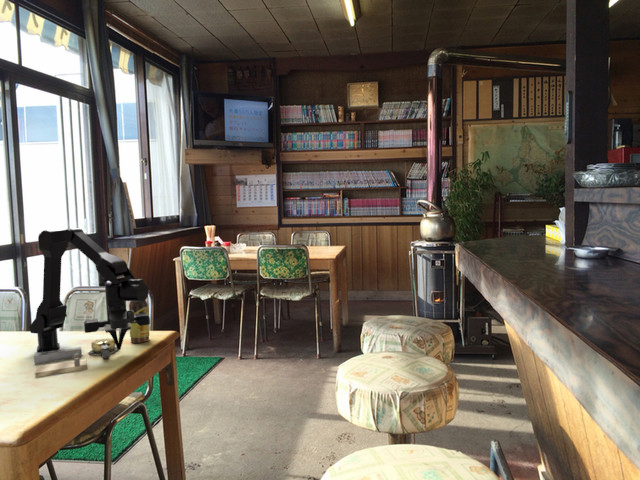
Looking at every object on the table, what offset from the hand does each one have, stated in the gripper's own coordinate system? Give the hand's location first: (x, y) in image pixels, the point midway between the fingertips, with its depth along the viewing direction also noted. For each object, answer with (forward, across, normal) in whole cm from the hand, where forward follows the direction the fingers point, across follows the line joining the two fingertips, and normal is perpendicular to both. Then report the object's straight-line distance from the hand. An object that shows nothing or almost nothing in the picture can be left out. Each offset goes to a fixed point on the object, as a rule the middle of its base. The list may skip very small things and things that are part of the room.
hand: (118, 349), depth 156 cm
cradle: (+2, -16, -6) cm, 17 cm away
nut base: (+2, -4, +7) cm, 8 cm away
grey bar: (+2, -16, +6) cm, 17 cm away
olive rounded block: (+1, -4, +4) cm, 6 cm away
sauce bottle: (+2, +8, +13) cm, 15 cm away
